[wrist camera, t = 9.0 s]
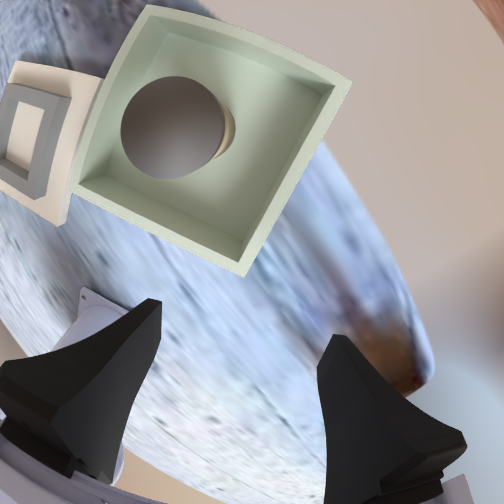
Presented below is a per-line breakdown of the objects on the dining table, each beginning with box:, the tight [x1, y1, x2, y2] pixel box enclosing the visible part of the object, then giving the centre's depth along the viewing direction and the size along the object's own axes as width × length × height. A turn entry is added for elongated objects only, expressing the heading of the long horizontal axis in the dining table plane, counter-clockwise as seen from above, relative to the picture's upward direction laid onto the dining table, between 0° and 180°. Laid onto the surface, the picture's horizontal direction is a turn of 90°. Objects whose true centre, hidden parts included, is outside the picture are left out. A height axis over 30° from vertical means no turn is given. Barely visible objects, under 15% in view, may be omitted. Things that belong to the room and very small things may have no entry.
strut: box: [120, 76, 236, 179], centre depth 13 cm, size 4×4×7 cm
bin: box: [68, 4, 353, 277], centre depth 15 cm, size 12×12×4 cm
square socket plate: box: [0, 61, 105, 227], centre depth 15 cm, size 12×12×3 cm
